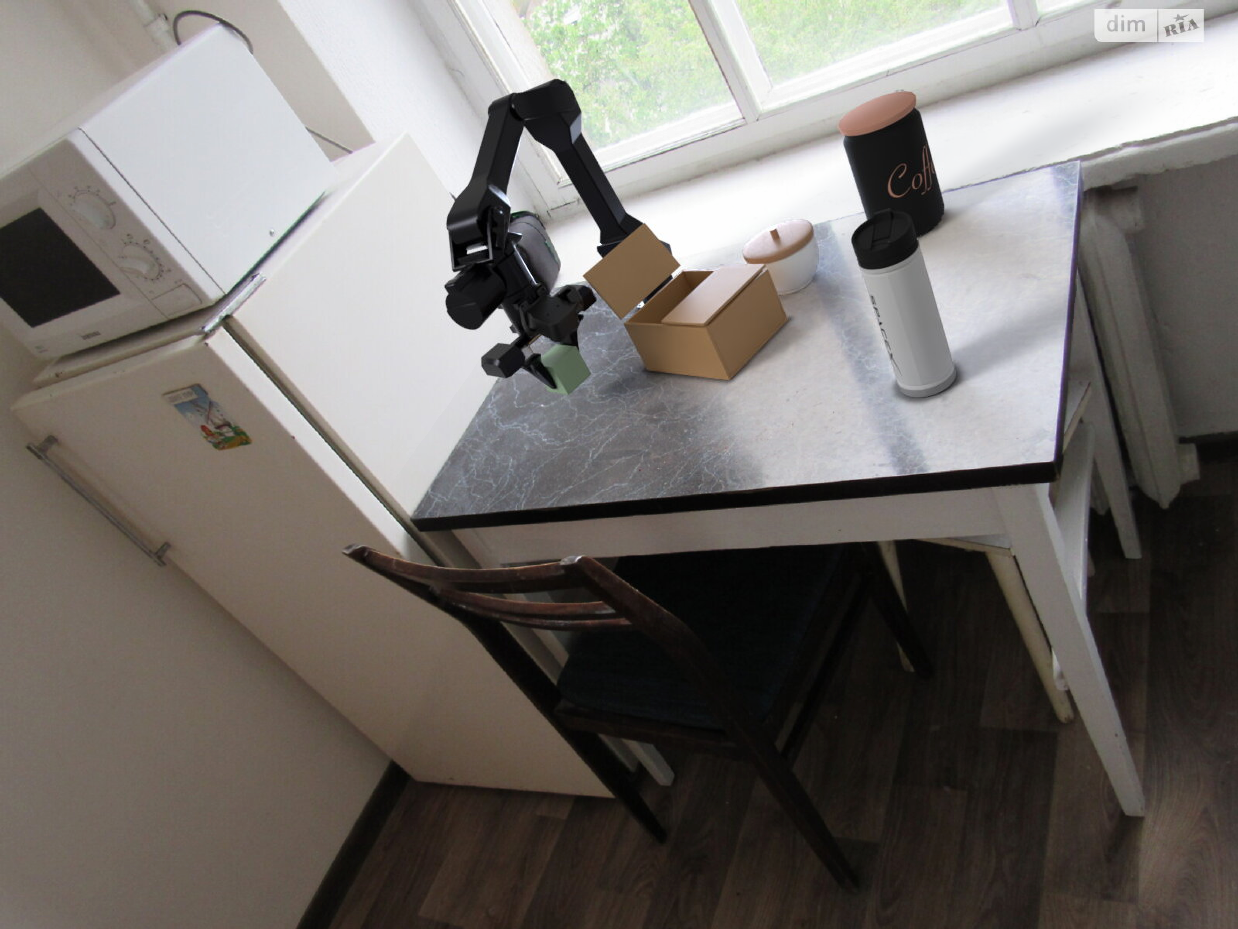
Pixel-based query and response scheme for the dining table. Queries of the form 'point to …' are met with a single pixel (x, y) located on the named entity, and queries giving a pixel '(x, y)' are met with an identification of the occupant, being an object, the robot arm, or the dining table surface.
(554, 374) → the block
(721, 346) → the carton
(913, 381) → the travel mug
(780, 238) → the trinket box
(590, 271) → the flap
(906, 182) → the coffee jar
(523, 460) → the dining table surface
